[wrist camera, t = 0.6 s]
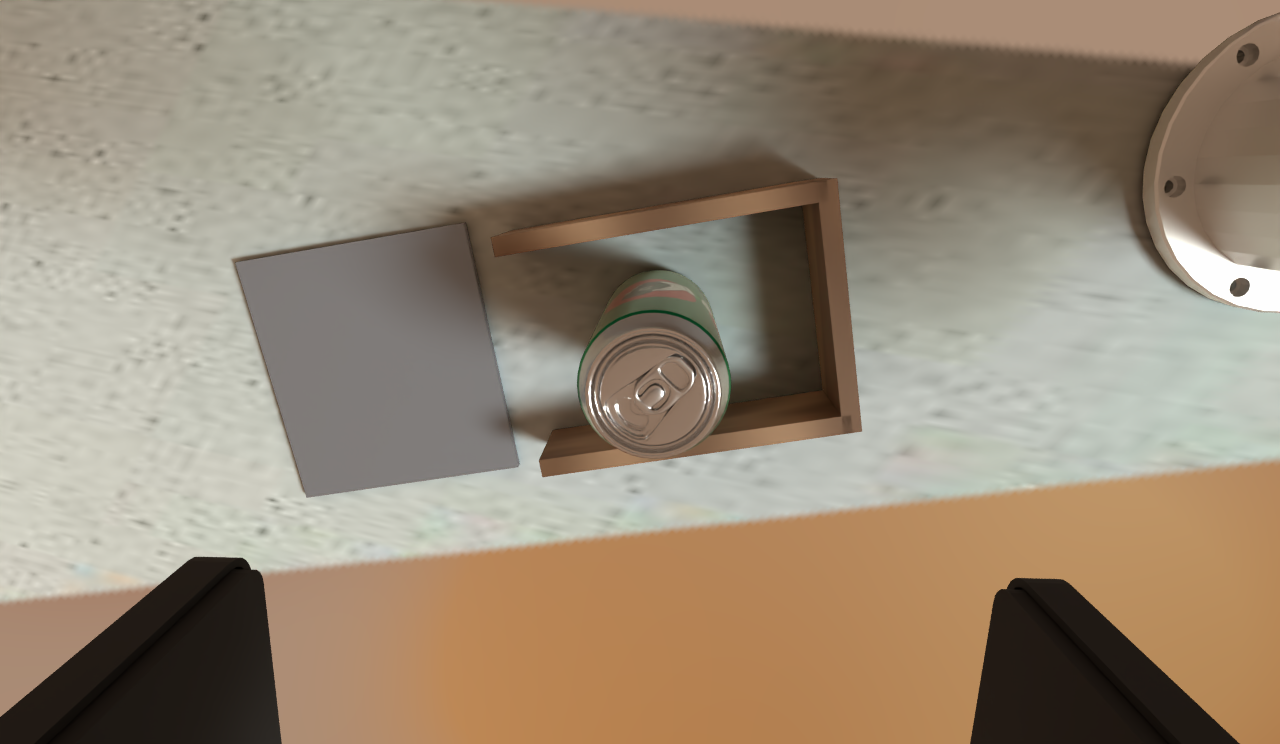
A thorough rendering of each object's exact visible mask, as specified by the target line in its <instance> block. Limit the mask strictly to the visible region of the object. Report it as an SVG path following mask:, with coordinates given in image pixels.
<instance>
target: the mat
mask: <svg viewBox="0 0 1280 744" xmlns="http://www.w3.org/2000/svg"><path fill="white" fill-rule="evenodd" d="M235 264H236V267H237V271H238V274H239V277H240V280H241V284H242V287H243V290H244V294H245V297H246V300H247V303H248V307H249V310H250V313H251V317H252V320H253V323H254V326H255V330H256V333H257V336H258V340H259V343H260V346H261V349H262V353H263V356H264V359H265V362H266V366H267V369H268V372H269V376H270V379H271V382H272V385H273V389H274V392H275V395H276V399H277V402H278V405H279V408H280V412H281V415H282V418H283V422H284V425H285V428H286V431H287V435H288V438H289V441H290V445H291V448H292V451H293V454H294V458H295V461H296V464H297V467H298V471H299V474H300V477H301V481H302V484H303V487H304V490H305V494H306V497H307V498H308V497H315V496H321V495H328V494H335V493H342V492H349V491H356V490H363V489H370V488H377V487H384V486H391V485H398V484H404V483H411V482H418V481H425V480H432V479H439V478H446V477H453V476H460V475H467V474H474V473H480V472H487V471H494V470H501V469H508V468H515V467H518V466H519V464H520V463H519V459H518V454H517V450H516V445H515V441H514V437H513V432H512V428H511V423H510V419H509V414H508V410H507V405H506V401H505V396H504V392H503V387H502V383H501V378H500V374H499V369H498V365H497V360H496V356H495V352H494V347H493V343H492V338H491V334H490V329H489V325H488V320H487V316H486V311H485V307H484V302H483V298H482V293H481V289H480V284H479V280H478V276H477V271H476V267H475V262H474V258H473V253H472V249H471V244H470V240H469V235H468V231H467V226H466V223H460V224H454V225H448V226H442V227H437V228H431V229H425V230H419V231H414V232H408V233H402V234H396V235H390V236H385V237H379V238H373V239H367V240H362V241H356V242H350V243H344V244H338V245H333V246H327V247H321V248H315V249H309V250H304V251H298V252H292V253H286V254H281V255H275V256H269V257H263V258H257V259H252V260H246V261H240V262H235Z"/></svg>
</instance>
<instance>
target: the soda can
mask: <svg viewBox="0 0 1280 744" xmlns="http://www.w3.org/2000/svg"><path fill="white" fill-rule="evenodd" d="M577 389H578V397H579V401H580V405H581V408H582V410H583V412H584V415H585V417H586V419H587V420H588V422H589V423H590V425H591V426H592V428H593V429H594V430H595V431H596V432H597V433H598V435H599V436H600V437H602V438H603V439H604V440H605V441H606V442H608V443H609V444H611V445H612V446H614V447H616V448H617V449H619V450H621V451H622V452H625V453H627V454H630V455H632V456H636V457H640V458H649V459H659V458H667V457H671V456H675V455H678V454H680V453H683V452H686V451H688V450H690V449H692V448H693V447H695V446H697V445H699V444H700V443H701V442H702V441H704V440H705V439H706V438H707V437H708V436H709V435H710V434H711V433H712V432H713V431H714V430H715V429H716V427H717V426H718V424H719V423H720V422H721V420H722V418H723V416H724V414H725V412H726V410H727V406H728V403H729V399H730V392H731V375H730V370H729V365H728V361H727V358H726V355H725V352H724V349H723V345H722V342H721V339H720V336H719V332H718V329H717V326H716V323H715V320H714V316H713V313H712V310H711V307H710V305H709V302H708V300H707V298H706V296H705V295H704V293H703V292H702V291H701V289H700V288H699V287H698V286H697V285H696V284H695V283H693V282H692V281H691V280H689V279H688V278H686V277H685V276H683V275H680V274H678V273H675V272H671V271H665V270H651V271H646V272H642V273H639V274H637V275H634V276H633V277H631V278H629V279H628V280H626V281H625V282H624V283H622V284H621V285H620V286H619V287H618V288H617V290H616V291H615V292H614V293H613V295H612V297H611V298H610V300H609V302H608V304H607V306H606V308H605V310H604V312H603V314H602V316H601V318H600V321H599V323H598V325H597V327H596V329H595V331H594V333H593V335H592V337H591V339H590V341H589V343H588V345H587V347H586V349H585V352H584V354H583V356H582V359H581V361H580V365H579V370H578V377H577Z"/></svg>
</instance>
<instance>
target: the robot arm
mask: <svg viewBox="0 0 1280 744" xmlns="http://www.w3.org/2000/svg"><path fill="white" fill-rule="evenodd" d="M1236 57H1237V58H1236ZM1165 183H1166V185H1167V186H1166V189H1165V190H1164V187H1165ZM1142 197H1143V204H1144V210H1145V217H1146V224H1147V226H1148V229H1149V231H1150V234H1151V237H1152V239H1153V242H1154V245H1155V247H1156V249H1157V250H1158V252H1159V254H1160V255H1161V257H1162V258H1163V260H1164V261H1165V263H1166V264H1167V266H1168V267H1169V269H1170V270H1172V271H1173V272H1174V273H1175V274H1176V275H1177V276H1178V277H1179V278H1180V279H1181V280H1182V281H1183V282H1184V283H1185V284H1186V285H1187V286H1189V287H1191V288H1192V289H1194V290H1196V291H1197V292H1199V293H1201V294H1202V295H1204V296H1206V297H1207V298H1209V299H1212V300H1215V301H1218V302H1221V303H1224V304H1227V305H1230V306H1233V307H1238V308H1243V309H1248V310H1253V311H1258V312H1274V313H1280V13H1277V14H1275V15H1272V16H1269V17H1266V18H1264V19H1261V20H1258V21H1257V22H1255V23H1253V24H1251V25H1250V26H1248V27H1246V28H1245V29H1243V30H1241V31H1239V32H1237V33H1236V34H1234V35H1232V36H1230V37H1229V38H1227V39H1226V40H1225V41H1224V42H1223V43H1221V44H1220V45H1219V46H1218V47H1216V48H1215V49H1214V50H1213V51H1212V52H1211V53H1209V54H1208V55H1207V56H1205V57H1204V58H1203V59H1202V60H1201V61H1200V62H1199V63H1198V65H1197V66H1196V67H1195V68H1194V69H1193V70H1192V71H1191V72H1190V74H1189V75H1188V76H1187V77H1186V78H1185V79H1184V80H1183V81H1182V82H1181V84H1180V85H1179V87H1178V88H1177V90H1176V91H1175V93H1174V95H1173V96H1172V98H1171V99H1170V101H1169V102H1168V104H1167V105H1166V107H1165V109H1164V110H1163V112H1162V115H1161V117H1160V119H1159V122H1158V124H1157V126H1156V128H1155V131H1154V133H1153V135H1152V138H1151V141H1150V145H1149V149H1148V153H1147V157H1146V162H1145V166H1144V176H1143V196H1142ZM0 744H282V743H281V734H280V725H279V717H278V707H277V698H276V689H275V680H274V672H273V663H272V654H271V645H270V636H269V627H268V618H267V609H266V600H265V592H264V583H263V578H262V575H261V573H260V572H259V571H257V570H251V568H250V565H249V564H248V562H247V561H246V560H245V559H243V558H226V557H194V558H192V559H190V560H189V561H187V562H186V563H185V564H184V565H182V566H181V567H180V568H179V569H178V570H176V571H175V572H174V573H173V574H172V575H170V576H169V577H168V578H167V579H166V580H164V581H163V582H162V583H161V584H160V585H158V586H157V587H156V588H155V589H154V590H152V591H151V592H150V593H149V594H148V595H146V596H145V597H144V598H143V599H142V600H140V601H139V602H138V603H137V604H136V605H134V606H133V607H132V608H131V609H130V610H128V611H127V612H126V613H125V614H124V615H122V616H121V617H120V618H119V619H118V620H116V621H115V622H114V623H113V624H112V625H110V626H109V627H108V628H107V629H105V630H104V631H103V632H102V633H101V634H99V635H98V636H97V637H96V638H95V639H93V640H92V641H91V642H90V643H89V644H88V645H86V646H85V647H84V648H83V649H82V650H80V651H79V652H78V653H77V654H75V655H74V656H73V657H72V658H71V659H69V660H68V661H67V662H66V663H65V664H63V665H62V666H61V667H60V668H59V669H57V670H56V671H55V672H54V673H53V674H51V675H50V676H49V677H48V678H47V679H45V680H44V681H43V682H42V683H41V684H40V685H38V686H37V687H36V688H35V689H33V691H31V692H30V693H29V694H27V695H26V696H25V697H24V698H23V699H21V700H20V701H19V702H18V703H17V704H16V705H14V706H13V707H12V708H11V709H10V710H8V711H7V712H6V713H5V714H3V715H2V716H1V717H0ZM970 744H1239V743H1238V742H1237V741H1236V740H1235V739H1234V738H1233V737H1232V736H1231V735H1230V734H1229V733H1228V732H1226V730H1224V729H1223V728H1222V727H1221V726H1220V725H1219V724H1218V723H1217V722H1216V721H1215V720H1214V719H1212V717H1211V716H1210V715H1208V714H1207V713H1206V712H1205V711H1204V710H1203V709H1202V708H1201V707H1200V706H1199V705H1198V704H1197V703H1196V702H1195V701H1194V700H1193V699H1191V698H1190V697H1189V696H1188V695H1187V694H1186V693H1185V692H1184V691H1183V690H1182V689H1181V688H1180V687H1179V686H1178V685H1177V684H1175V683H1174V682H1173V681H1172V680H1171V679H1170V678H1169V677H1168V676H1167V675H1166V674H1165V673H1164V672H1163V671H1162V670H1161V669H1160V668H1158V667H1157V666H1156V665H1155V664H1154V663H1153V662H1152V661H1151V660H1150V659H1149V658H1148V657H1147V656H1146V655H1145V654H1144V653H1142V652H1141V651H1140V650H1139V649H1138V648H1137V647H1136V646H1135V645H1134V644H1133V643H1132V642H1131V641H1130V640H1129V639H1128V638H1127V637H1126V636H1124V635H1123V634H1122V633H1121V632H1120V631H1119V630H1118V629H1117V628H1116V627H1115V626H1114V625H1113V624H1112V623H1111V622H1110V621H1109V620H1107V619H1106V618H1105V617H1104V616H1103V615H1102V614H1101V613H1100V612H1099V611H1098V610H1097V609H1096V608H1095V607H1094V606H1093V605H1092V604H1090V603H1089V602H1088V601H1087V600H1086V599H1085V598H1084V597H1083V596H1082V595H1081V594H1080V593H1079V592H1077V590H1076V589H1074V588H1073V587H1072V586H1071V585H1070V584H1069V583H1068V582H1066V581H1064V580H1061V579H1031V578H1030V579H1029V578H1015V579H1013V580H1012V581H1011V582H1010V584H1009V585H1008V587H1007V589H1001V590H999V591H998V592H997V593H996V595H995V598H994V602H993V608H992V614H991V621H990V627H989V633H988V639H987V645H986V651H985V657H984V663H983V669H982V675H981V681H980V687H979V693H978V699H977V706H976V712H975V718H974V725H973V730H972V736H971V742H970Z"/></svg>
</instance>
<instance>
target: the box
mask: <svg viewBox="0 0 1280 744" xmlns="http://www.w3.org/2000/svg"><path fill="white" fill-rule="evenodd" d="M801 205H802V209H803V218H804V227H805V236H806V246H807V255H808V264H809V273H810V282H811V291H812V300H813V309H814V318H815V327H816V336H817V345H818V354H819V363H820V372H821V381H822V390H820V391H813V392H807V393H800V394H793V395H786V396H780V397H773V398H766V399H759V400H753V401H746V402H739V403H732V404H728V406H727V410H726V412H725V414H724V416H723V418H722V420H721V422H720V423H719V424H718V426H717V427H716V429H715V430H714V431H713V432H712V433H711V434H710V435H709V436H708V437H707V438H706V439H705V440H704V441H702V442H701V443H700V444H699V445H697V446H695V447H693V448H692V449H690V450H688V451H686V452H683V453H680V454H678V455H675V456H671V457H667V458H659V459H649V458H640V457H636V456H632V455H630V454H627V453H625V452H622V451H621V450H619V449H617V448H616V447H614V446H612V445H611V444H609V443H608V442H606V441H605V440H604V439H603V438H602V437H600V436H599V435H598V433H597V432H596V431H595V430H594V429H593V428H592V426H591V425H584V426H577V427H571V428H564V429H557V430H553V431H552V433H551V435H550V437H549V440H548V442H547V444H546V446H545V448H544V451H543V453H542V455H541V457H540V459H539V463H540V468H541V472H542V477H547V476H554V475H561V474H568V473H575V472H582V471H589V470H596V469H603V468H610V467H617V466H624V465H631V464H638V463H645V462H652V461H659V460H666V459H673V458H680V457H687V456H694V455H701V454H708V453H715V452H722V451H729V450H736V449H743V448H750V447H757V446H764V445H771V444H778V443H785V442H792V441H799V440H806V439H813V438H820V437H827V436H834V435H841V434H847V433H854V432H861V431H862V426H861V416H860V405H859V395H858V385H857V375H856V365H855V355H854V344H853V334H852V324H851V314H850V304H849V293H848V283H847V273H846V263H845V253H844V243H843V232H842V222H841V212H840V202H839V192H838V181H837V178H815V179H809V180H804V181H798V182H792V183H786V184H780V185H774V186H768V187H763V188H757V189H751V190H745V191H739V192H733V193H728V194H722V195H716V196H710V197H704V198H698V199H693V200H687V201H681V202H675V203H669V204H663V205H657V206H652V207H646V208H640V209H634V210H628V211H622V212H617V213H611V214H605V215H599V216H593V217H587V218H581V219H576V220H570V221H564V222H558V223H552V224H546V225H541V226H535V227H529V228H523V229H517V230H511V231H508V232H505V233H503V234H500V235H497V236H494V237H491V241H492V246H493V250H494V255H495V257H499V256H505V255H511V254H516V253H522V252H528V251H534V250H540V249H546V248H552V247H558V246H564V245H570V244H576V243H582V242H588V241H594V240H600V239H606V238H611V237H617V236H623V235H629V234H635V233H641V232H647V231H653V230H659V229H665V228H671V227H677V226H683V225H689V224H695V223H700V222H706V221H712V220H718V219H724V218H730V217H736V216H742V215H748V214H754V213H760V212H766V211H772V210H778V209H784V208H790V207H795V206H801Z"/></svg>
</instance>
